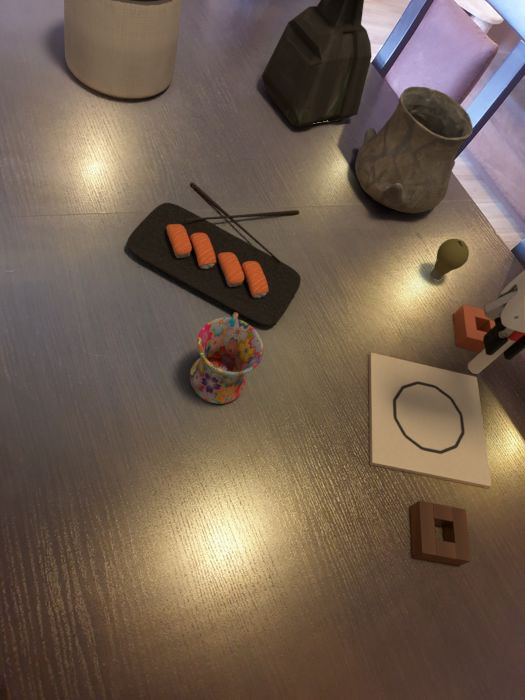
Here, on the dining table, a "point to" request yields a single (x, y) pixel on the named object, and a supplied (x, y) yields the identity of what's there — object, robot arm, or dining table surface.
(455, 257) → the light bulb
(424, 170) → the vessel
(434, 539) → the marker stand
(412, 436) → the board
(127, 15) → the planter
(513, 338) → the marker
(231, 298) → the sushi plate
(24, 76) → the dining table surface
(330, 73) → the bottle
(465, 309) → the pen holder
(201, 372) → the mug
